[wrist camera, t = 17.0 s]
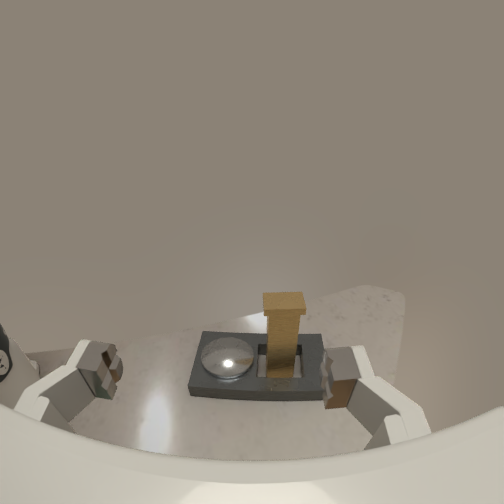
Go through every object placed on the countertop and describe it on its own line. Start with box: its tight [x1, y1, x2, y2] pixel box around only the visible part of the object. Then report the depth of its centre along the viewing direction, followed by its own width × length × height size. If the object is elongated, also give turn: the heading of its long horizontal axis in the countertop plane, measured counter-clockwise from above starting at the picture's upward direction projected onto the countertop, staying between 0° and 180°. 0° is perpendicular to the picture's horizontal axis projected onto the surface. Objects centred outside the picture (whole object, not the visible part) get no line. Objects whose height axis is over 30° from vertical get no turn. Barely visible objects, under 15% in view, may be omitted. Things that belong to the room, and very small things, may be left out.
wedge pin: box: [263, 292, 306, 378], centre depth 40 cm, size 5×4×14 cm
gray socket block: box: [188, 331, 324, 401], centre depth 43 cm, size 20×12×3 cm, turn 87°
